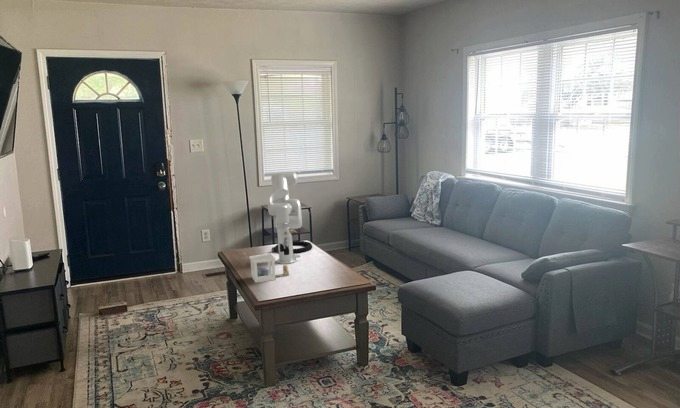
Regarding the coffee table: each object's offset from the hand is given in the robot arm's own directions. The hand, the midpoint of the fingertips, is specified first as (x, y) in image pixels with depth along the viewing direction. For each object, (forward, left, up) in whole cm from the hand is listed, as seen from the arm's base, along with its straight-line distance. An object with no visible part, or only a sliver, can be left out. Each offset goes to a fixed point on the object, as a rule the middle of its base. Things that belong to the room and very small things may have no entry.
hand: (284, 253), depth 316 cm
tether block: (+8, -1, -14) cm, 16 cm away
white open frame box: (+14, -1, -14) cm, 20 cm away
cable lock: (-20, -61, -15) cm, 65 cm away
